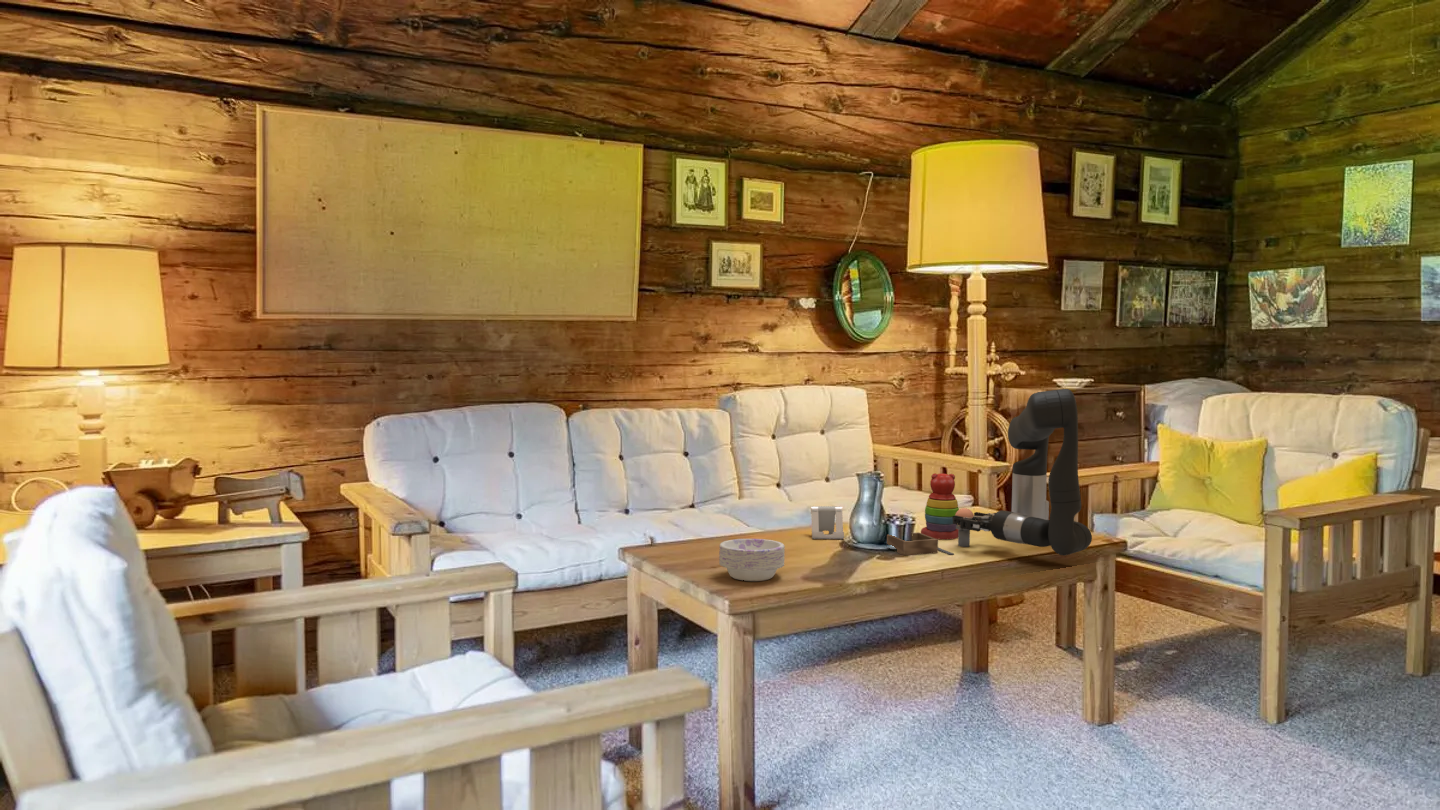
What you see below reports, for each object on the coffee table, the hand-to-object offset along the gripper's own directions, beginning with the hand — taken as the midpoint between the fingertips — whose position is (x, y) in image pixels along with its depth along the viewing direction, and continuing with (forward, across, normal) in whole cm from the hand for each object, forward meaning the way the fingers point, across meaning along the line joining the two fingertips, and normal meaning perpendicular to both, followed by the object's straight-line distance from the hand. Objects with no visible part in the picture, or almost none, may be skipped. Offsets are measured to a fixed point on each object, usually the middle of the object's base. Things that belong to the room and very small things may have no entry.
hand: (964, 517), depth 271 cm
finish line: (+2, +9, +8) cm, 12 cm away
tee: (0, 0, +8) cm, 8 cm away
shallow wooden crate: (+4, +16, +8) cm, 18 cm away
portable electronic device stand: (+30, +22, +8) cm, 38 cm away
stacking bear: (+12, -5, +8) cm, 15 cm away
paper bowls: (+6, +67, +8) cm, 68 cm away
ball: (0, 0, 0) cm, 0 cm away
